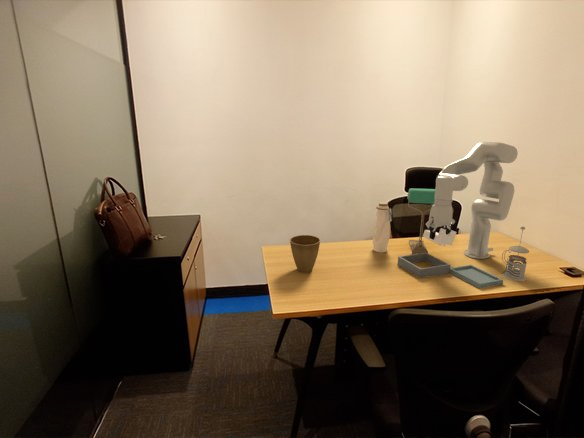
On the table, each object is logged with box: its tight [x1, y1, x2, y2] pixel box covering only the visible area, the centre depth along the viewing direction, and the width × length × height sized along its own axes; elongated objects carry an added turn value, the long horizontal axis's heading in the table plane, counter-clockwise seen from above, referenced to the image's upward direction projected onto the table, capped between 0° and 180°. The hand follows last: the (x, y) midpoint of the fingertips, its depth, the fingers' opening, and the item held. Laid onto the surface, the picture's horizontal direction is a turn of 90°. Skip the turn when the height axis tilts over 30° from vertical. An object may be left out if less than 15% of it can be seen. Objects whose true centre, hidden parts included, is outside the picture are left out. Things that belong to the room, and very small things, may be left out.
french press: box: [501, 226, 530, 282], centre depth 162 cm, size 10×12×25 cm
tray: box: [449, 264, 504, 289], centre depth 163 cm, size 14×19×2 cm
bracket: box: [422, 227, 458, 247], centre depth 167 cm, size 13×7×8 cm, turn 13°
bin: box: [397, 252, 451, 279], centre depth 173 cm, size 18×18×4 cm
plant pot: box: [289, 234, 321, 273], centre depth 171 cm, size 15×15×16 cm
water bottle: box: [372, 201, 393, 253], centre depth 196 cm, size 10×9×28 cm
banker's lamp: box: [406, 187, 436, 254], centre depth 199 cm, size 16×21×35 cm
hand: (438, 237), depth 167 cm, fingers closed on bracket, 7 cm apart
